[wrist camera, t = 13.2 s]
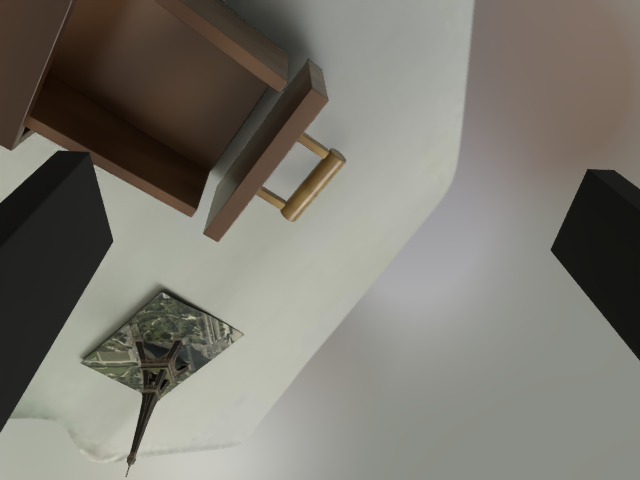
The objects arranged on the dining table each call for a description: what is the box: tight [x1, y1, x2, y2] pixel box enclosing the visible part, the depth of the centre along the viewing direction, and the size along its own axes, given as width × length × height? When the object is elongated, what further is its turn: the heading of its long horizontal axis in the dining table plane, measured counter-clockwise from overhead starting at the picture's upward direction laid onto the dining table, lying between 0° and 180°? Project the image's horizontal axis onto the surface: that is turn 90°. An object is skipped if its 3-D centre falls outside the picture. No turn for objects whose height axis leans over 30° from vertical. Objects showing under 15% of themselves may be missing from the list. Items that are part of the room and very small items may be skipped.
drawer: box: [26, 0, 346, 242], centre depth 27 cm, size 20×12×7 cm, turn 52°
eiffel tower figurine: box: [81, 292, 244, 477], centre depth 41 cm, size 15×10×13 cm
